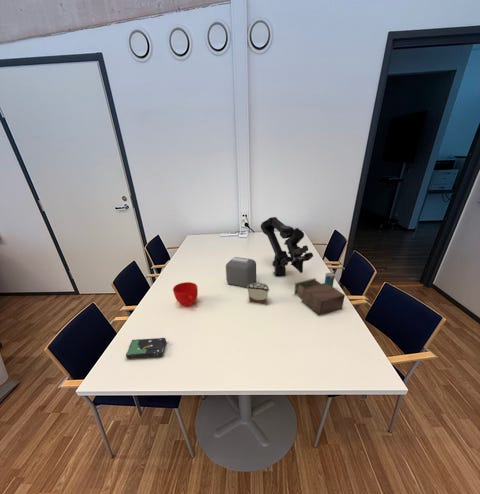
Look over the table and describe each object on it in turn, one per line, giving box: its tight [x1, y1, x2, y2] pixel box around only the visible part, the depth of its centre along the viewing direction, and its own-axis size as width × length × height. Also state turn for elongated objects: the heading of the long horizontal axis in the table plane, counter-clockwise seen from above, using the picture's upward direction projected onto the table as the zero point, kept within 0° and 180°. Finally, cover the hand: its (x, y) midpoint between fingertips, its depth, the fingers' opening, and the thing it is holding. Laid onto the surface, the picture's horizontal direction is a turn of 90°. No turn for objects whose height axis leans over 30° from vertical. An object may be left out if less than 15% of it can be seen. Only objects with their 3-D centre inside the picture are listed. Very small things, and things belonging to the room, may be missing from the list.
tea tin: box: [324, 272, 336, 288], centre depth 152 cm, size 5×5×10 cm
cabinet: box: [301, 282, 346, 317], centre depth 139 cm, size 15×14×8 cm
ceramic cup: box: [172, 281, 199, 307], centre depth 143 cm, size 13×17×10 cm
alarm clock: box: [225, 256, 257, 288], centre depth 162 cm, size 16×11×16 cm
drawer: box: [293, 278, 322, 299], centre depth 147 cm, size 18×13×7 cm
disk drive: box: [125, 337, 167, 360], centre depth 114 cm, size 10×3×15 cm
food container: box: [246, 282, 270, 306], centre depth 145 cm, size 12×6×10 cm, turn 71°
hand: (301, 272), depth 151 cm, fingers closed
